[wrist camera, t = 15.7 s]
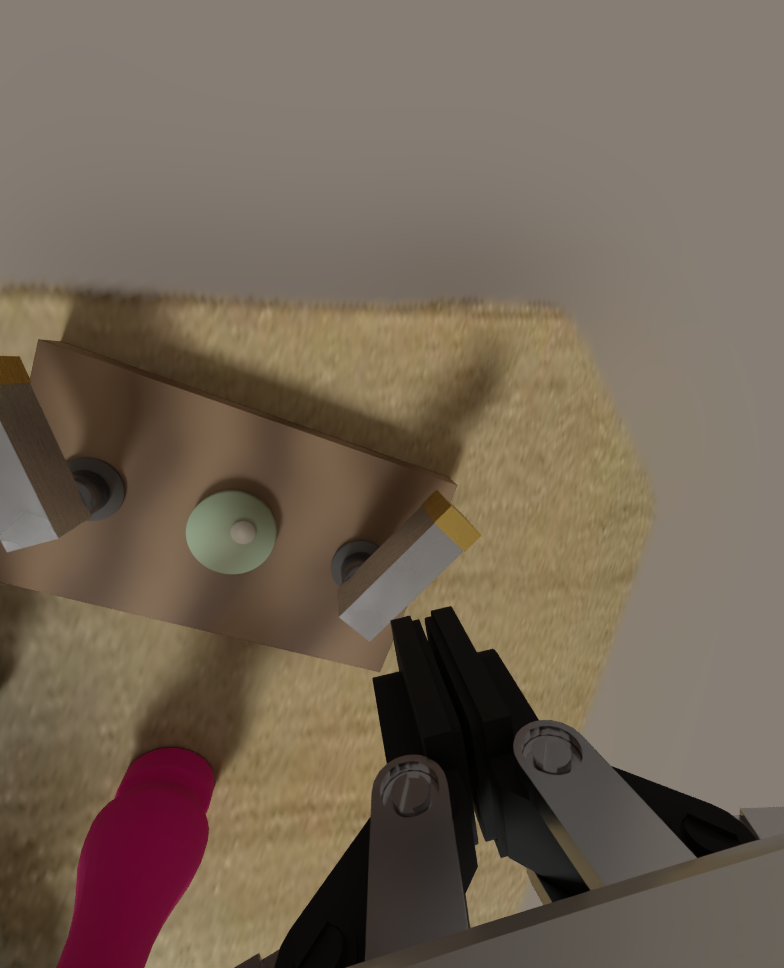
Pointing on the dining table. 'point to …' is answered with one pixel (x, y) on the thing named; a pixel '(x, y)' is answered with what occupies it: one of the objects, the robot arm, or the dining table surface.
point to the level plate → (213, 510)
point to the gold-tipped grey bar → (37, 470)
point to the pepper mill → (139, 860)
